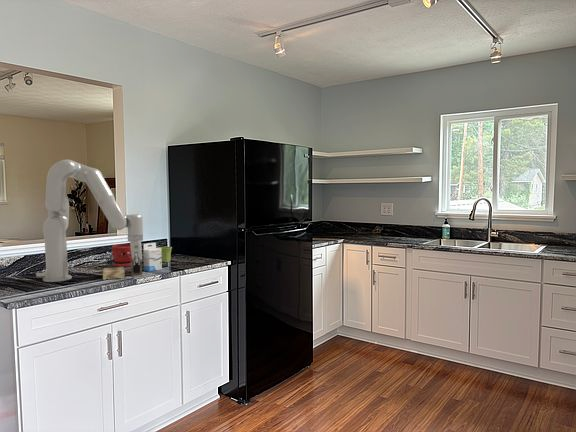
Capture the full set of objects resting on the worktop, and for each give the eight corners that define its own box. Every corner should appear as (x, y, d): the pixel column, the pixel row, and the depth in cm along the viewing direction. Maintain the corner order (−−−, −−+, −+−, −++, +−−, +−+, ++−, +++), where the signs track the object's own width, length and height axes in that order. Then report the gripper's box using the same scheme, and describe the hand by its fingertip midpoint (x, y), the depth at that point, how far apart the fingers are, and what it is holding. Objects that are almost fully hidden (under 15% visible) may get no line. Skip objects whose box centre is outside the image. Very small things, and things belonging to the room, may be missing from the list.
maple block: (103, 279, 215) (102, 271, 215) (103, 276, 225) (103, 268, 224) (124, 278, 219) (124, 270, 219) (124, 274, 228) (123, 266, 228)
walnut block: (131, 275, 225) (131, 262, 225) (131, 273, 230) (130, 260, 230) (141, 274, 227) (141, 261, 227) (141, 273, 232) (140, 260, 231)
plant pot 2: (153, 262, 265) (152, 247, 264) (165, 259, 272) (165, 246, 272) (163, 263, 259) (163, 249, 259) (175, 261, 267) (175, 247, 267)
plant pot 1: (131, 267, 247) (130, 246, 246) (108, 267, 247) (107, 246, 246) (139, 263, 260) (139, 243, 259) (117, 263, 260) (117, 243, 259)
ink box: (149, 272, 235) (148, 244, 234) (143, 271, 237) (142, 244, 236) (162, 269, 242) (161, 242, 240) (156, 268, 244) (155, 242, 243)
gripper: (144, 239, 221) (145, 273, 222) (141, 236, 237) (142, 267, 238) (128, 240, 218) (129, 274, 219) (127, 236, 234) (128, 268, 235)
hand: (136, 271), depth 229 cm, fingers open, 8 cm apart
